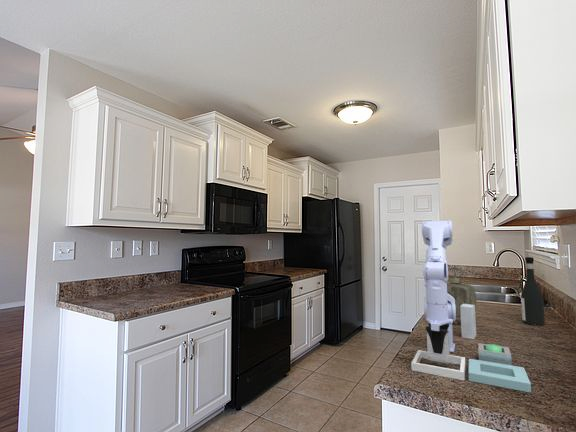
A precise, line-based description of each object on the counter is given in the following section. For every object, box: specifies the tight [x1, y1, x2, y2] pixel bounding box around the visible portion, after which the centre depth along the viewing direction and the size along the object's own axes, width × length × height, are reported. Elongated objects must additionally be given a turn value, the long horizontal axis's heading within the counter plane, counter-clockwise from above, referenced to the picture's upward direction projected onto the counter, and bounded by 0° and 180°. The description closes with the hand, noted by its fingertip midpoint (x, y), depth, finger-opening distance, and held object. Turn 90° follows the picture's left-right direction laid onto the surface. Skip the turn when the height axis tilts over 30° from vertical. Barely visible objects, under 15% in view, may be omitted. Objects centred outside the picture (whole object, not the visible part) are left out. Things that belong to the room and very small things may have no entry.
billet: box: [426, 331, 451, 365], centre depth 92 cm, size 4×6×8 cm
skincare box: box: [460, 304, 477, 340], centre depth 122 cm, size 6×4×12 cm
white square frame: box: [410, 349, 466, 381], centre depth 91 cm, size 13×13×2 cm
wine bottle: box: [520, 256, 546, 326], centre depth 144 cm, size 8×8×30 cm
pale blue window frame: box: [468, 358, 532, 393], centre depth 84 cm, size 12×13×2 cm
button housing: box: [477, 342, 513, 366], centre depth 95 cm, size 8×8×4 cm
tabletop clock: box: [447, 267, 477, 325], centre depth 143 cm, size 14×9×25 cm, turn 46°
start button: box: [485, 343, 502, 352], centre depth 95 cm, size 4×4×4 cm
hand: (438, 350), depth 91 cm, fingers closed on billet, 4 cm apart
